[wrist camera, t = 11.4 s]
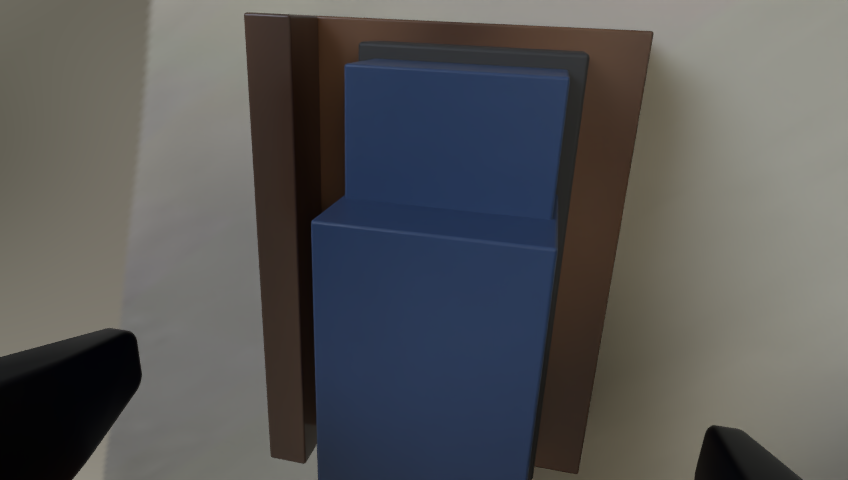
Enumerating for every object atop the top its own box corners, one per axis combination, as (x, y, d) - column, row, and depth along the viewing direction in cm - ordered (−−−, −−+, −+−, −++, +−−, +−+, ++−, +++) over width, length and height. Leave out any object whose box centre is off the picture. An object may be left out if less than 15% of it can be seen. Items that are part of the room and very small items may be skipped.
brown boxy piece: (641, 30, 13) (667, 32, 10) (576, 427, 17) (579, 519, 14) (311, 15, 15) (242, 12, 12) (319, 383, 19) (269, 457, 15)
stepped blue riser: (534, 449, 15) (525, 600, 11) (370, 420, 16) (307, 550, 12) (587, 51, 12) (602, 63, 8) (374, 40, 13) (288, 46, 9)
